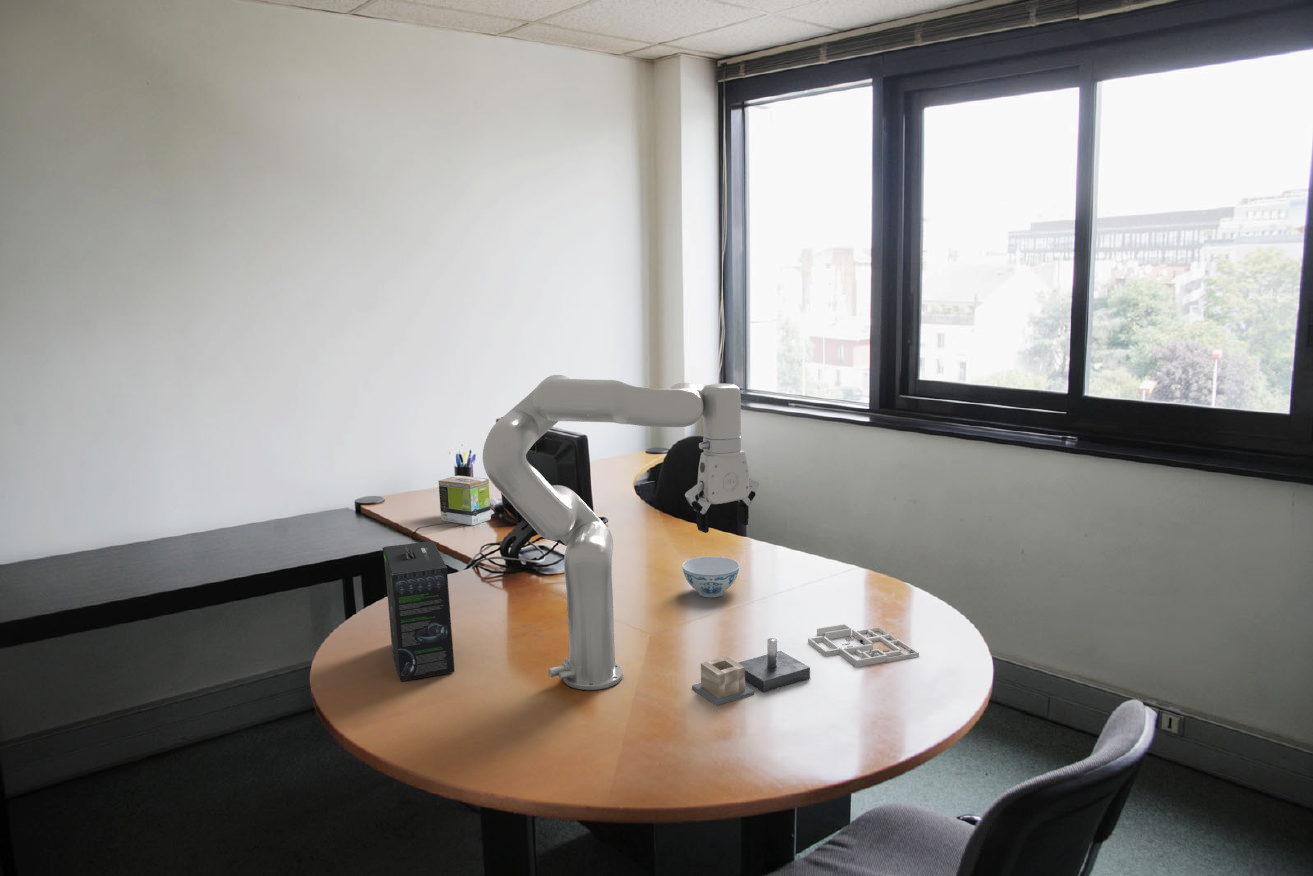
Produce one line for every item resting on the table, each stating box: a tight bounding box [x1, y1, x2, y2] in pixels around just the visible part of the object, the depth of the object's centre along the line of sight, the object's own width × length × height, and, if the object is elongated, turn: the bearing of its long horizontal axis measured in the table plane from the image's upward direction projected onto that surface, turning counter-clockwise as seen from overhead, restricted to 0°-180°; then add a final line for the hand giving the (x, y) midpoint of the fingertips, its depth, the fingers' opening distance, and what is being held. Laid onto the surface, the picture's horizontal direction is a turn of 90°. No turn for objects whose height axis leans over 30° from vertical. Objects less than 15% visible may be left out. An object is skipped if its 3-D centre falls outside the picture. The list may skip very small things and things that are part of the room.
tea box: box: [438, 475, 492, 526], centre depth 317 cm, size 15×10×15 cm, turn 58°
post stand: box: [737, 637, 811, 694], centre depth 191 cm, size 12×10×8 cm
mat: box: [691, 682, 755, 706], centre depth 185 cm, size 9×9×1 cm
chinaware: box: [681, 555, 740, 598], centre depth 241 cm, size 15×15×8 cm
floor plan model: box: [807, 623, 920, 668], centre depth 205 cm, size 19×25×2 cm
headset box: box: [382, 540, 455, 682], centre depth 202 cm, size 22×12×26 cm, turn 21°
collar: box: [700, 655, 746, 698], centre depth 185 cm, size 6×6×5 cm
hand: (723, 527), depth 187 cm, fingers open, 9 cm apart
